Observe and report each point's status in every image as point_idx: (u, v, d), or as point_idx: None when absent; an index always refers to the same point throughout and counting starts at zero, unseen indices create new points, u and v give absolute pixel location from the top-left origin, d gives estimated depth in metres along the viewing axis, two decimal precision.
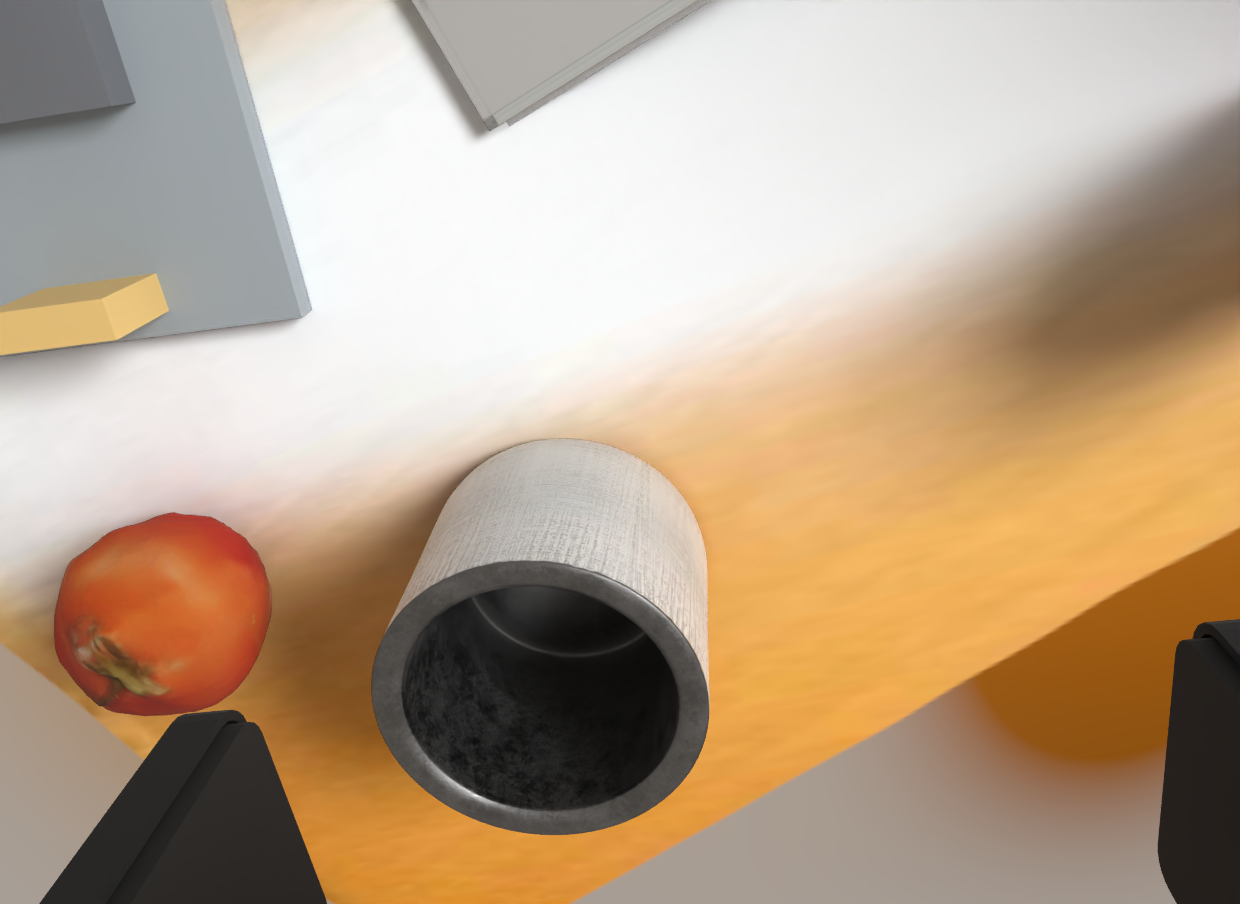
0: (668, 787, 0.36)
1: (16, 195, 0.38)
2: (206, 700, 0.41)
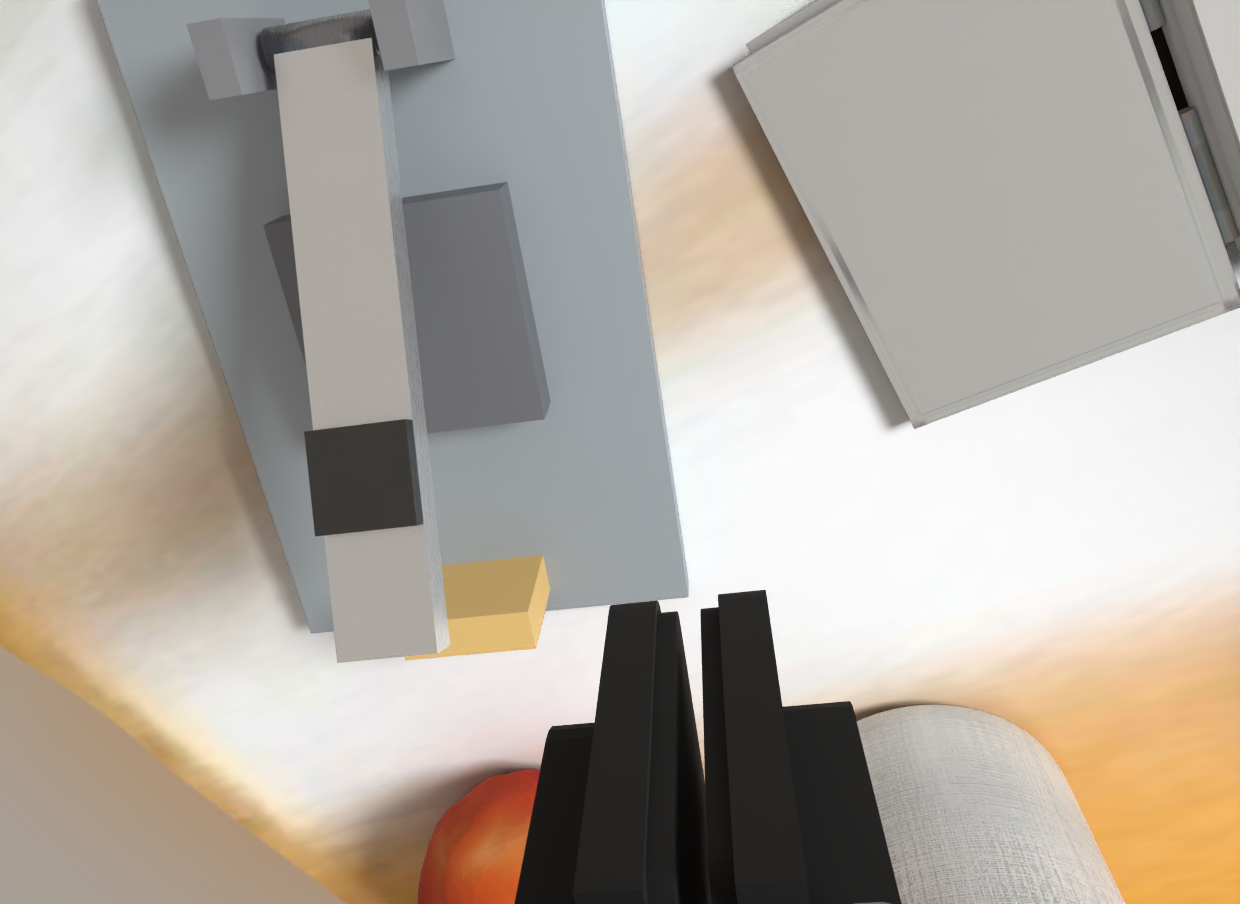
0: None
1: None
2: None
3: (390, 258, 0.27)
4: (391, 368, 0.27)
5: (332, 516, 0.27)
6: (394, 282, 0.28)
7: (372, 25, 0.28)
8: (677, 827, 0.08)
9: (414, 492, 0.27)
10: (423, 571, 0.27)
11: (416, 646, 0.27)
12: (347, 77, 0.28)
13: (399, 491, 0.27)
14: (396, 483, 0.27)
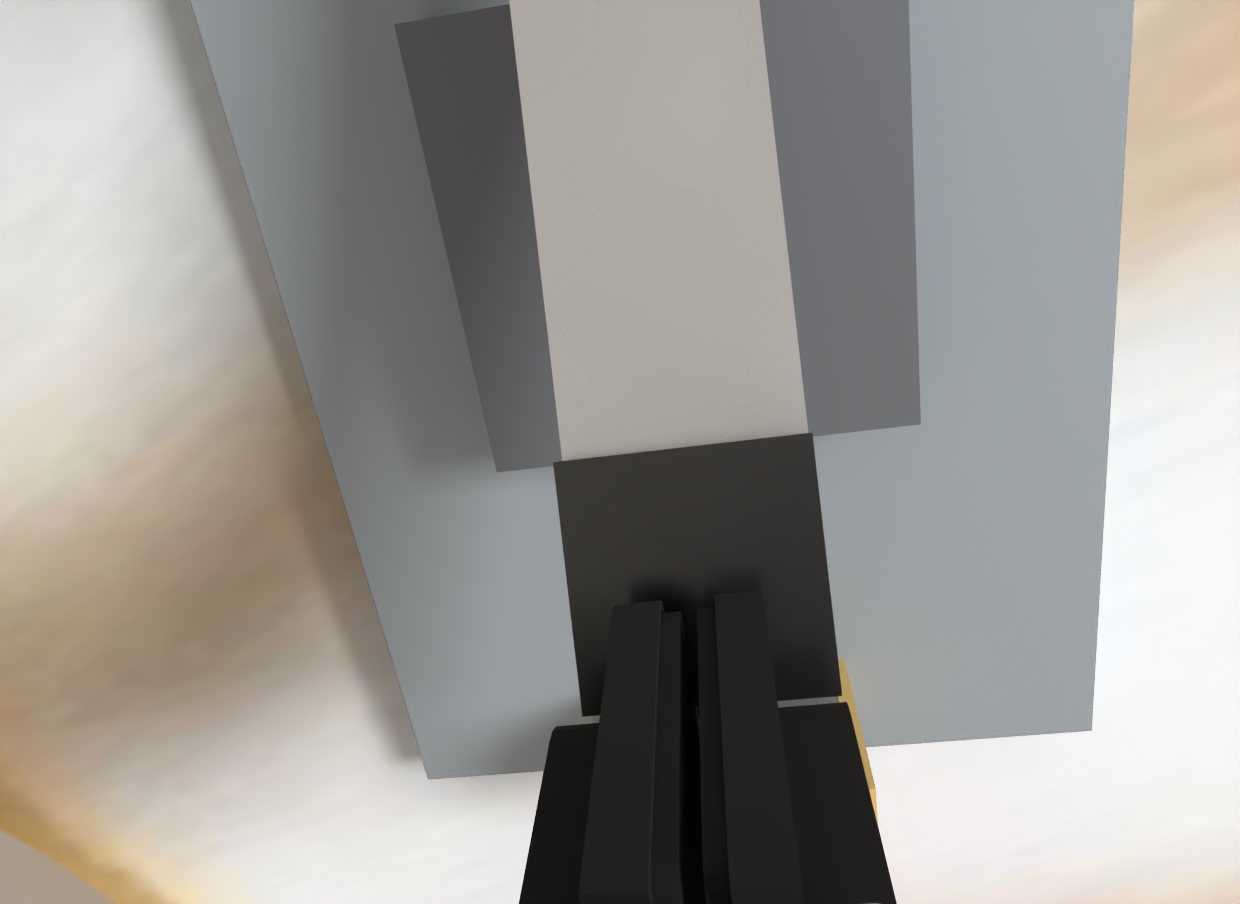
0: None
1: None
2: None
3: (752, 43, 0.11)
4: (754, 308, 0.11)
5: None
6: (759, 101, 0.11)
7: None
8: (681, 827, 0.08)
9: (832, 613, 0.11)
10: None
11: None
12: None
13: (796, 611, 0.11)
14: (789, 591, 0.11)
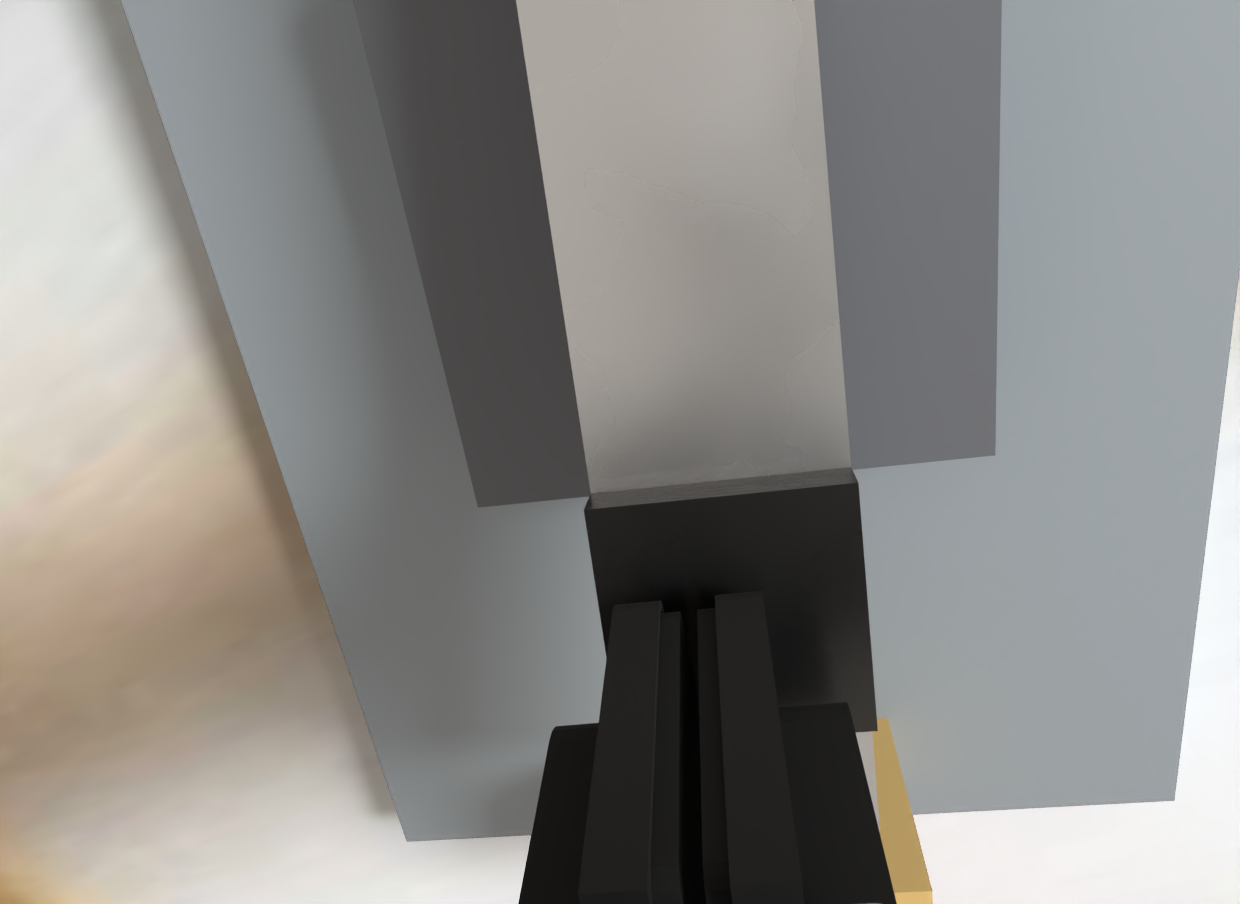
0: None
1: None
2: None
3: (802, 26, 0.10)
4: (797, 336, 0.10)
5: None
6: (807, 96, 0.10)
7: None
8: (681, 827, 0.08)
9: (871, 654, 0.11)
10: None
11: None
12: None
13: (834, 653, 0.11)
14: (828, 636, 0.11)
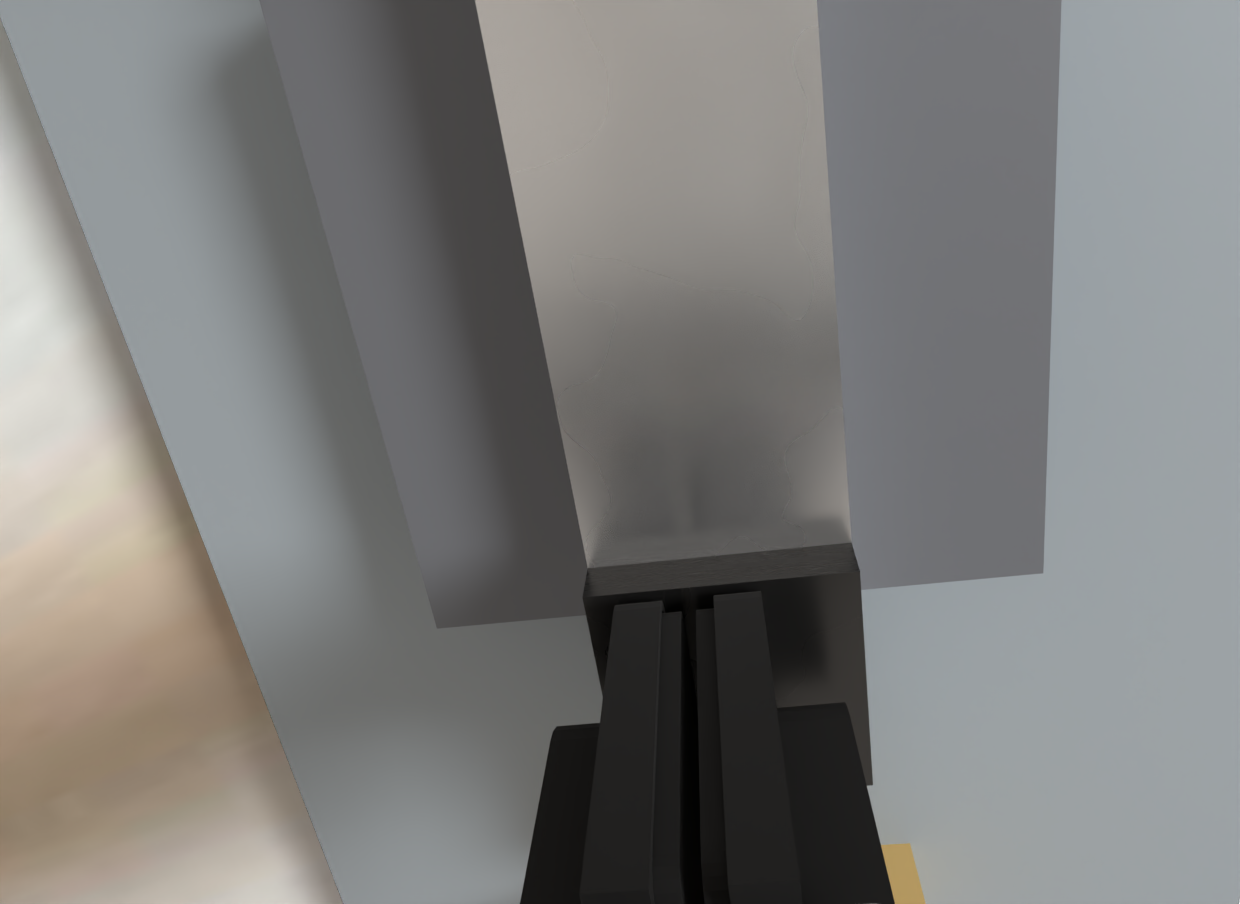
0: None
1: None
2: None
3: (808, 105, 0.09)
4: (799, 420, 0.10)
5: None
6: (813, 177, 0.09)
7: None
8: (683, 828, 0.08)
9: (868, 719, 0.11)
10: None
11: None
12: None
13: None
14: None
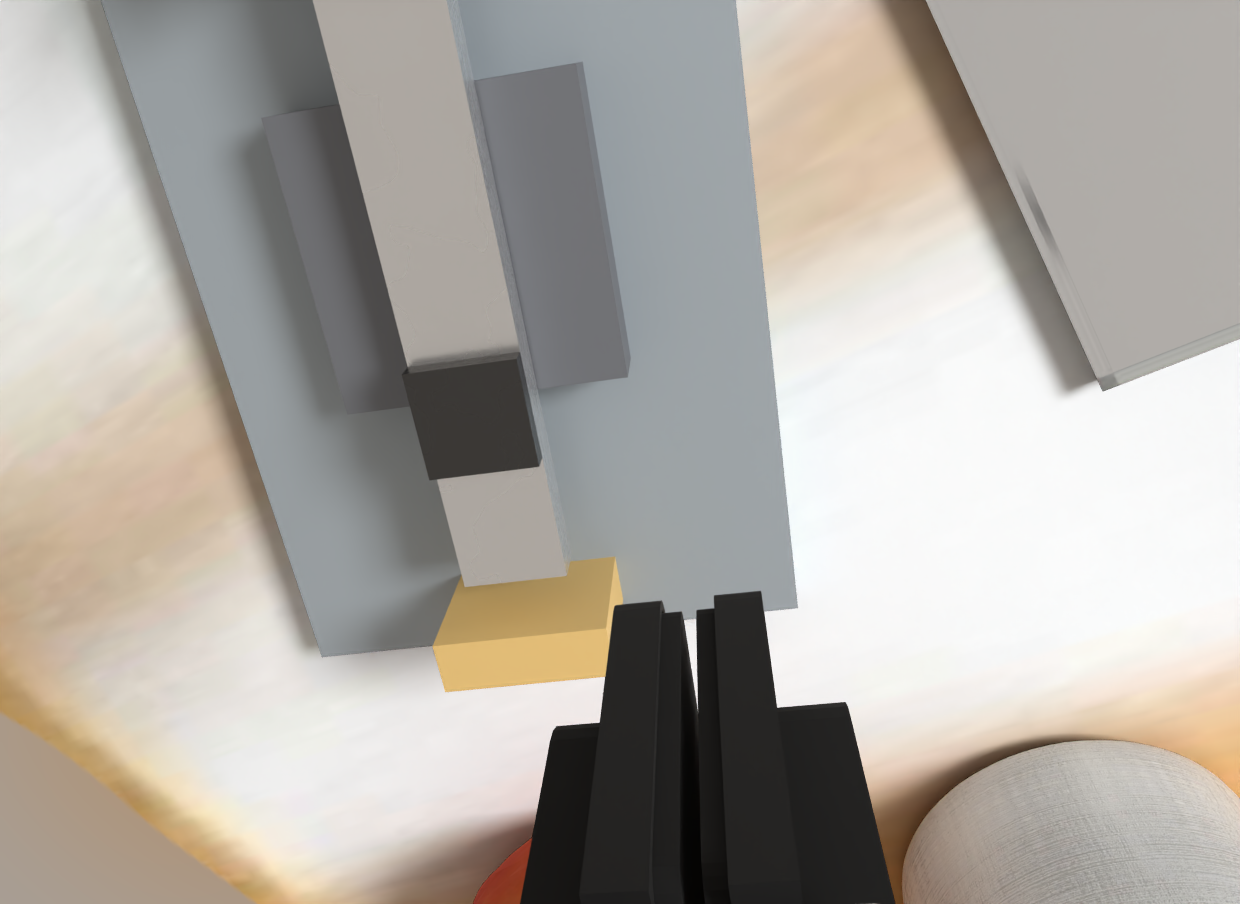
0: None
1: None
2: None
3: (475, 165, 0.23)
4: (489, 295, 0.24)
5: (445, 460, 0.25)
6: (482, 193, 0.23)
7: None
8: (683, 828, 0.08)
9: (533, 433, 0.25)
10: (545, 502, 0.26)
11: (544, 570, 0.27)
12: None
13: (516, 433, 0.25)
14: (512, 425, 0.25)
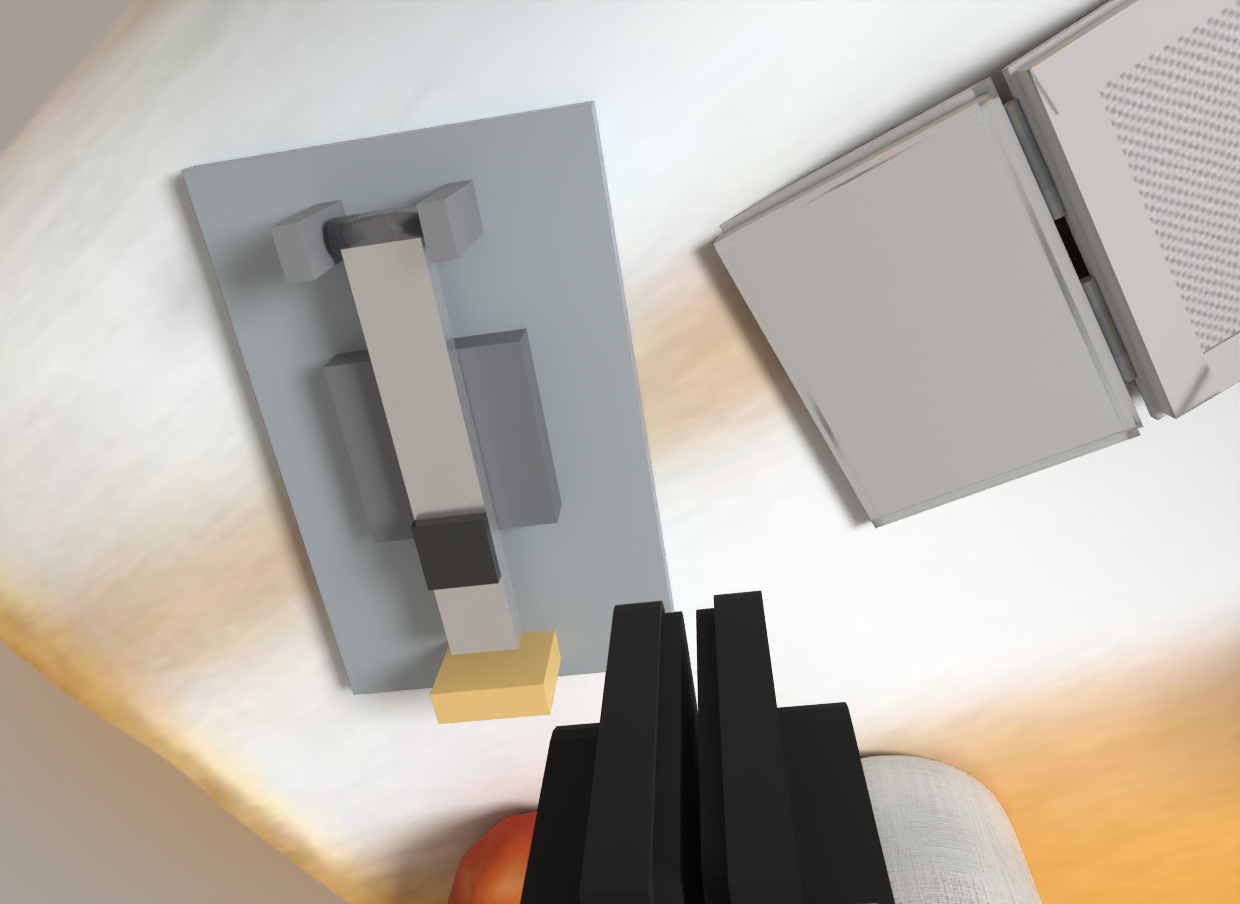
0: None
1: None
2: None
3: (457, 405, 0.37)
4: (466, 479, 0.38)
5: (438, 578, 0.39)
6: (461, 420, 0.37)
7: (420, 229, 0.34)
8: (682, 827, 0.08)
9: (494, 562, 0.39)
10: (503, 603, 0.40)
11: (503, 645, 0.41)
12: (404, 269, 0.35)
13: (484, 563, 0.39)
14: (481, 558, 0.39)
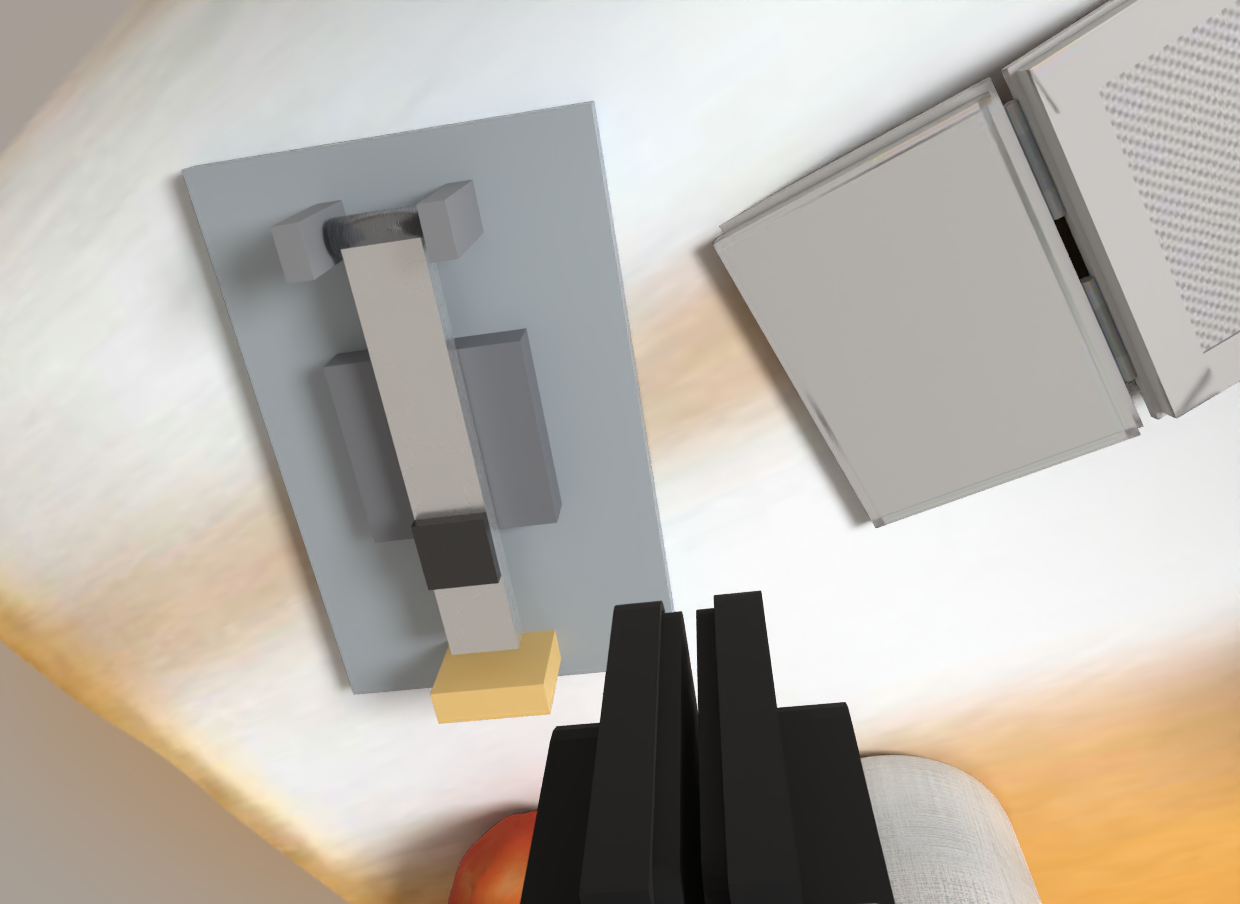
0: None
1: None
2: None
3: (457, 405, 0.37)
4: (466, 479, 0.38)
5: (438, 578, 0.39)
6: (461, 420, 0.37)
7: (420, 229, 0.34)
8: (683, 827, 0.08)
9: (494, 562, 0.39)
10: (503, 603, 0.40)
11: (504, 644, 0.41)
12: (404, 269, 0.35)
13: (484, 562, 0.39)
14: (481, 558, 0.39)
